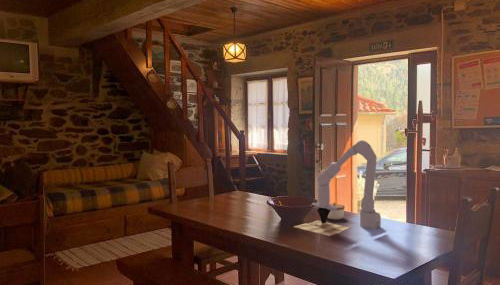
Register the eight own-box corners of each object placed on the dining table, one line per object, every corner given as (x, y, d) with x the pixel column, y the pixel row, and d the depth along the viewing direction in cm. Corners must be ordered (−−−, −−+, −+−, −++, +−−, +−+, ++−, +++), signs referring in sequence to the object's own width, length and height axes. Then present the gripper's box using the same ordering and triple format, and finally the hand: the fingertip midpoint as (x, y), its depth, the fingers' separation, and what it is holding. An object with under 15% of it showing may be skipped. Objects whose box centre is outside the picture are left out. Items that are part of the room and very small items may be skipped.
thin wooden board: (342, 234, 187) (342, 231, 187) (329, 238, 180) (329, 235, 180) (306, 225, 203) (306, 223, 203) (293, 229, 196) (293, 226, 196)
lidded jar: (321, 220, 212) (321, 203, 212) (327, 216, 222) (327, 200, 221) (341, 223, 207) (341, 205, 207) (346, 218, 217) (346, 201, 216)
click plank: (350, 229, 193) (350, 227, 193) (340, 233, 188) (340, 231, 188) (317, 222, 208) (317, 220, 208) (307, 225, 202) (307, 223, 202)
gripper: (340, 197, 200) (340, 223, 201) (317, 193, 211) (317, 218, 211) (331, 199, 195) (331, 226, 196) (309, 195, 206) (309, 221, 206)
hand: (323, 222), depth 203 cm, fingers closed, pressing on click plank
